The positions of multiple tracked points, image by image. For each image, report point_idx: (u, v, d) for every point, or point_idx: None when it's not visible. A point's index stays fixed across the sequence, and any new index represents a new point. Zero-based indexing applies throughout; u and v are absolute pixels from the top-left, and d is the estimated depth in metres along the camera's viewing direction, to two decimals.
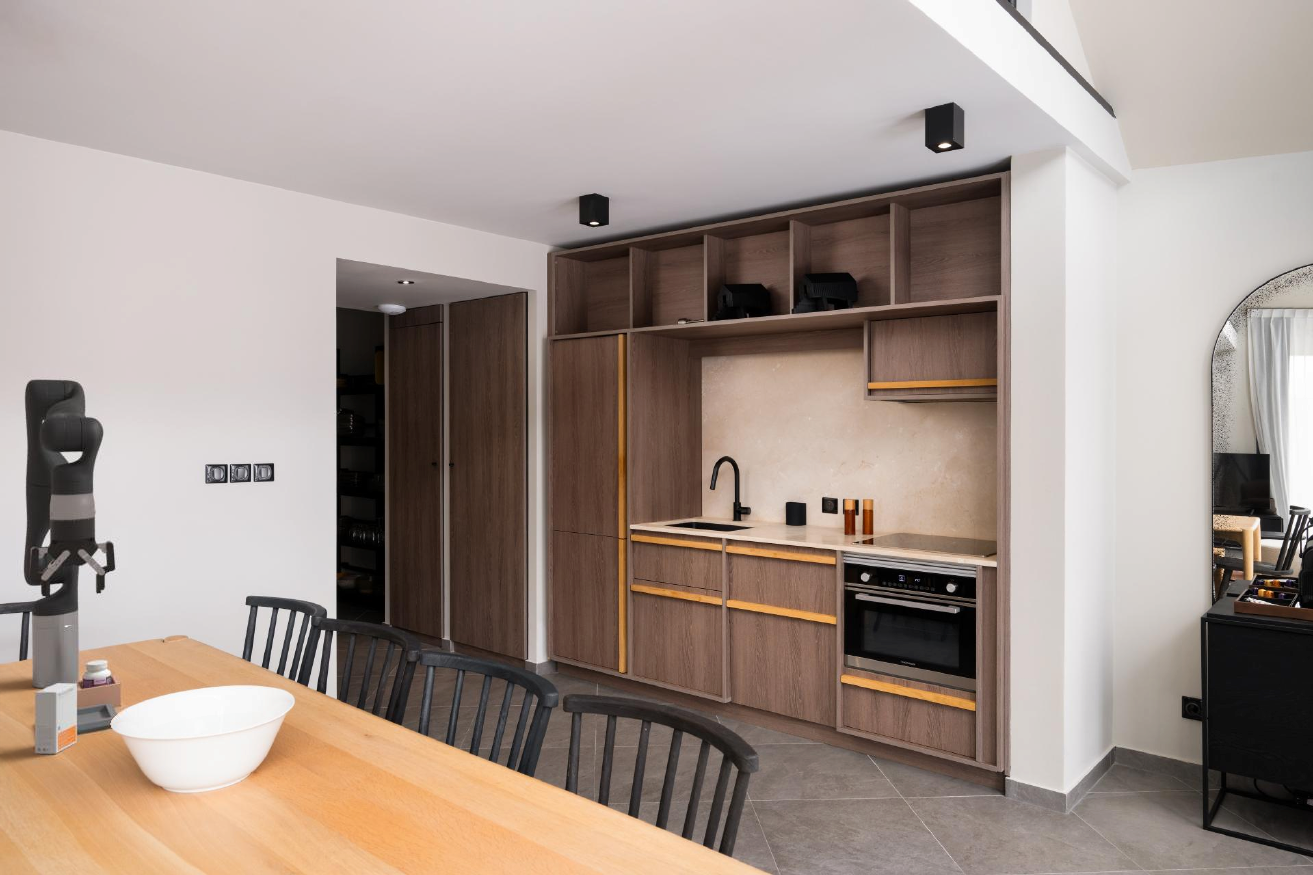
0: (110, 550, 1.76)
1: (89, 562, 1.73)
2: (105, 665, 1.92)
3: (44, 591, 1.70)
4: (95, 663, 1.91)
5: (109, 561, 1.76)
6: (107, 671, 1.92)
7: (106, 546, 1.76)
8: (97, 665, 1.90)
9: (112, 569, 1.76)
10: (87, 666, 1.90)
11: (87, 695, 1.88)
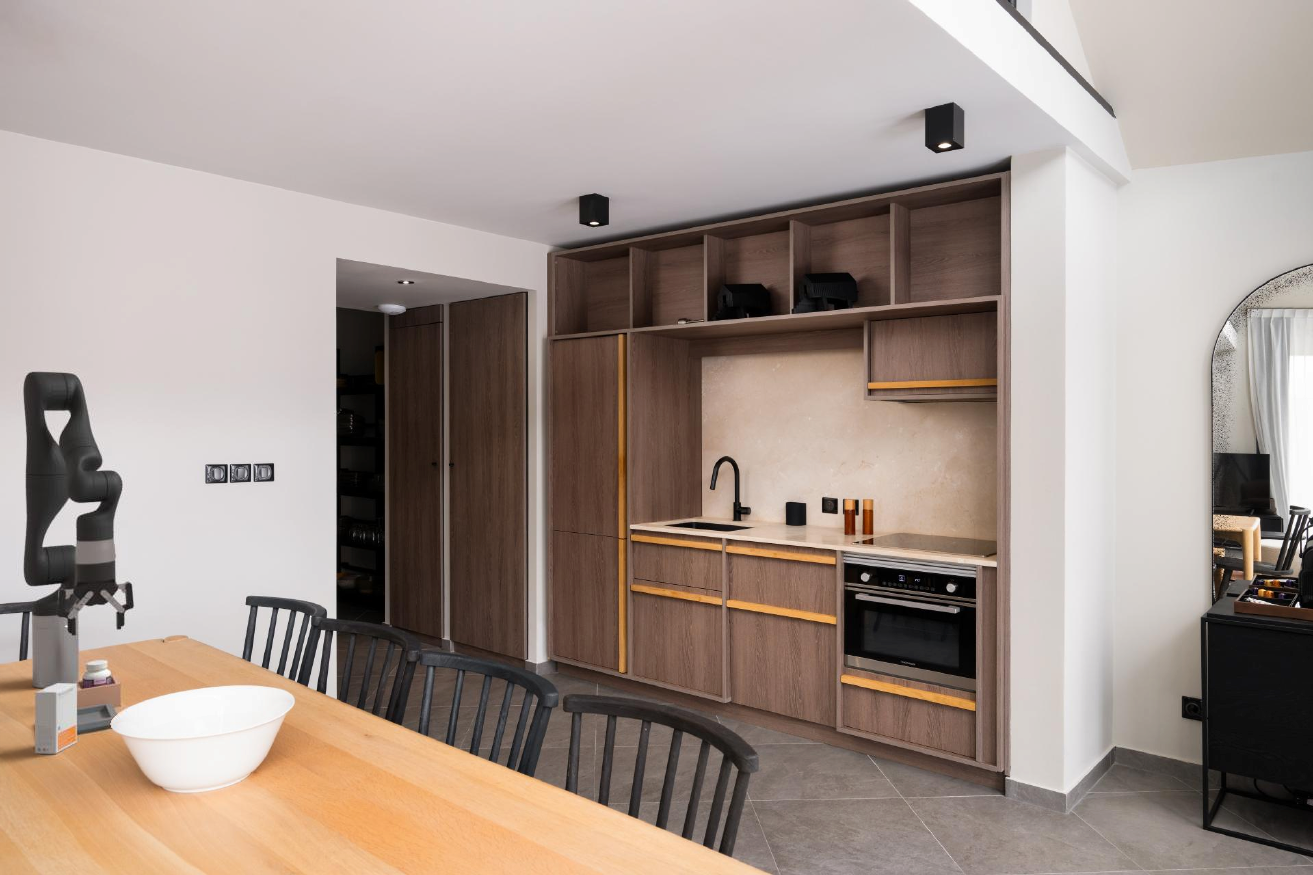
0: (129, 590, 1.95)
1: (110, 601, 1.92)
2: (105, 665, 1.92)
3: (70, 628, 1.88)
4: (95, 663, 1.91)
5: (128, 600, 1.95)
6: (107, 671, 1.92)
7: (125, 586, 1.94)
8: (97, 665, 1.90)
9: (131, 607, 1.95)
10: (87, 666, 1.90)
11: (87, 695, 1.88)
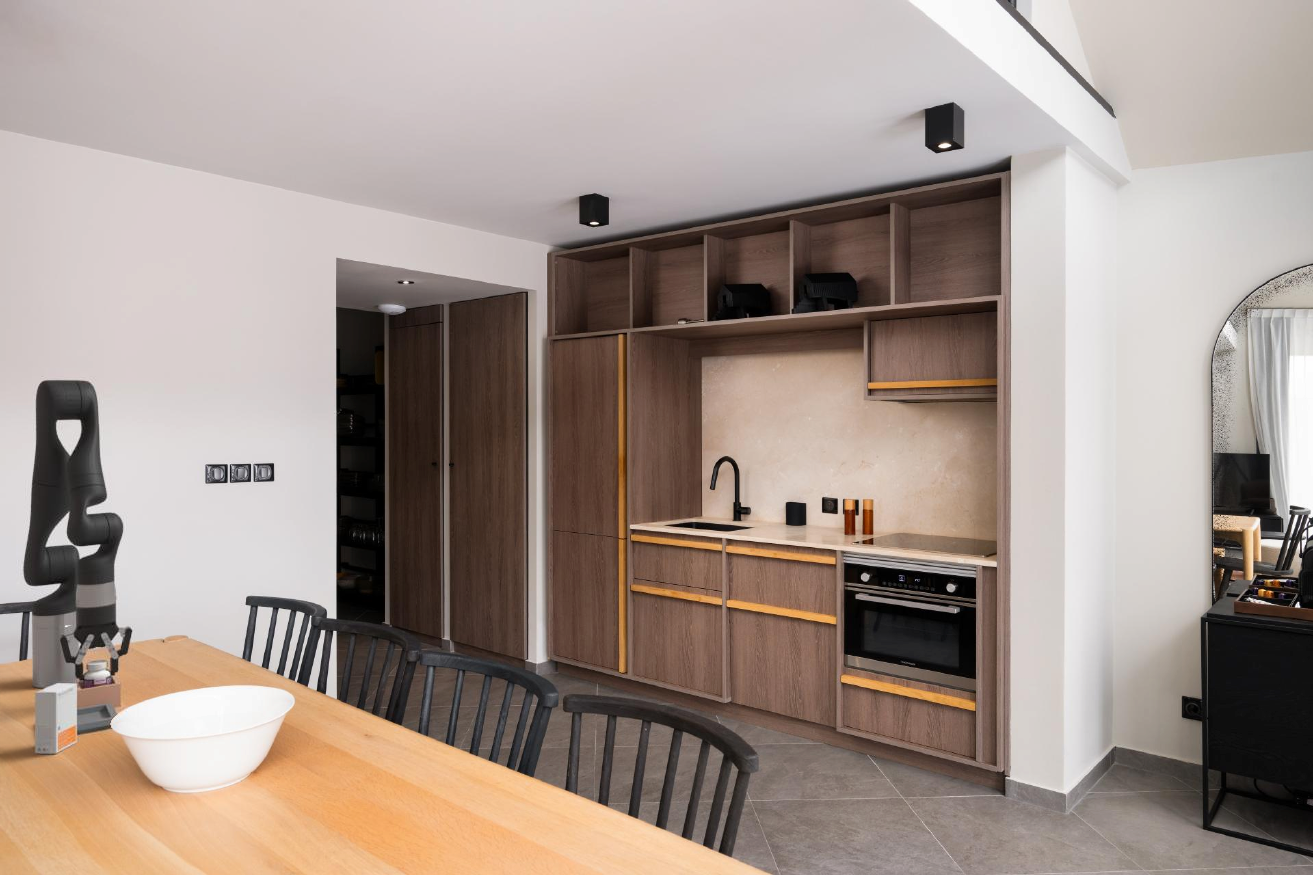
0: (128, 635, 1.95)
1: (108, 645, 1.92)
2: (105, 665, 1.92)
3: (78, 674, 1.89)
4: (95, 663, 1.91)
5: (124, 645, 1.94)
6: (107, 671, 1.92)
7: (125, 631, 1.95)
8: (97, 665, 1.91)
9: (125, 653, 1.94)
10: (87, 666, 1.90)
11: (87, 695, 1.88)
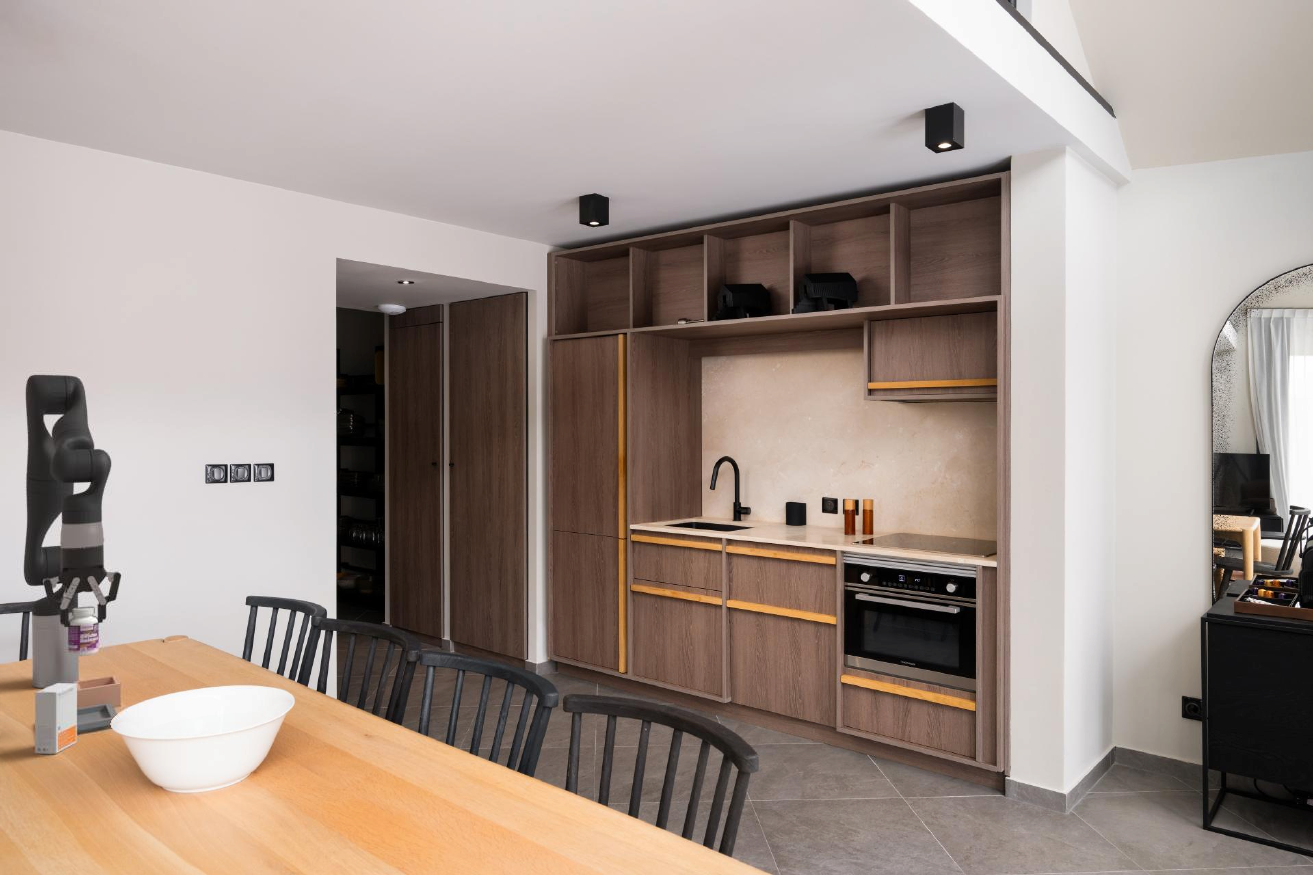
0: (116, 580, 1.83)
1: (95, 590, 1.80)
2: (92, 611, 1.80)
3: (63, 620, 1.77)
4: (82, 609, 1.79)
5: (112, 591, 1.82)
6: (94, 617, 1.81)
7: (114, 576, 1.83)
8: (84, 610, 1.79)
9: (113, 599, 1.82)
10: (73, 612, 1.78)
11: (87, 695, 1.88)
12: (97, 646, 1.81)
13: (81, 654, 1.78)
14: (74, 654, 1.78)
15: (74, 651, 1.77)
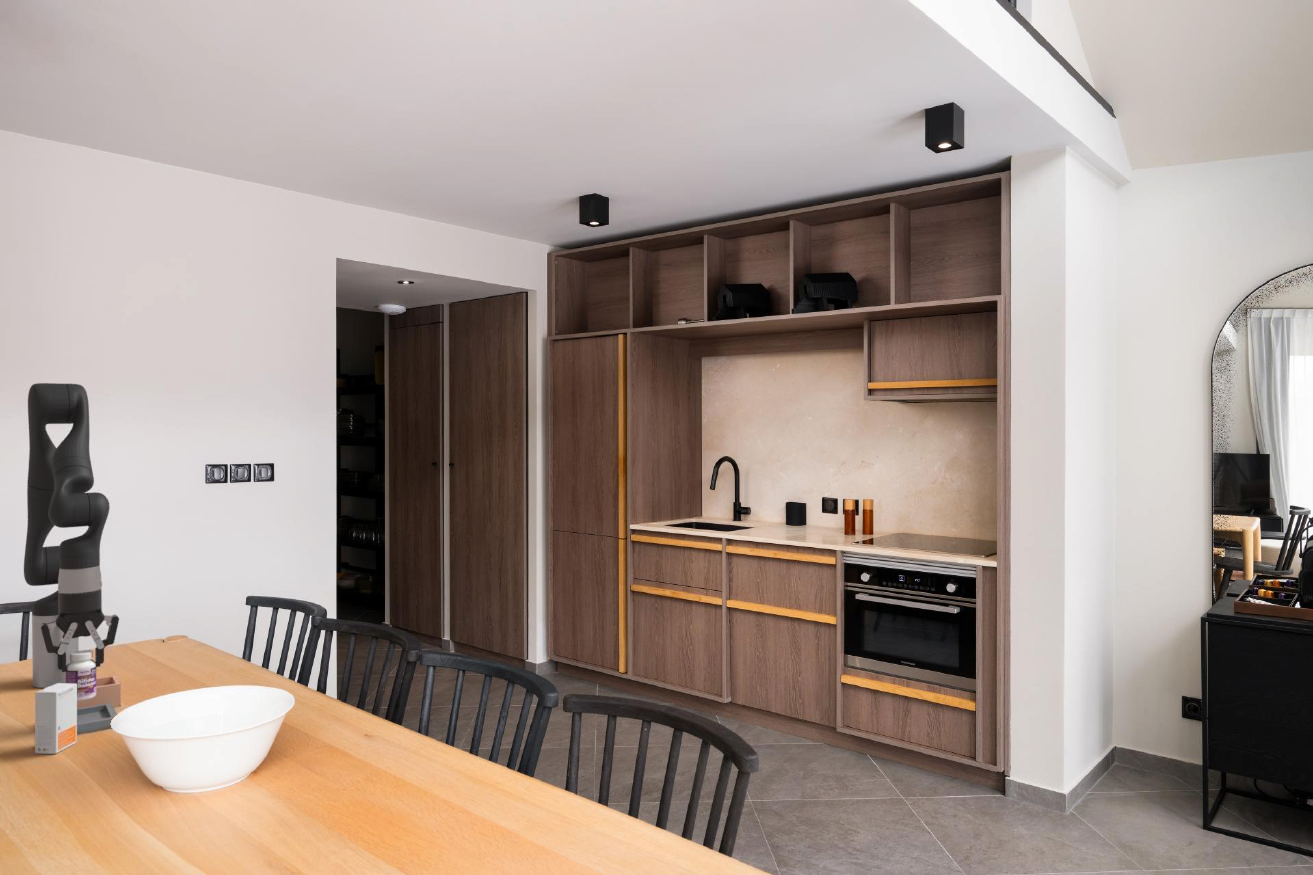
0: (114, 624, 1.82)
1: (92, 634, 1.79)
2: (90, 655, 1.79)
3: (60, 665, 1.77)
4: (79, 653, 1.78)
5: (110, 634, 1.81)
6: (92, 662, 1.80)
7: (112, 619, 1.82)
8: (81, 655, 1.78)
9: (111, 643, 1.82)
10: (70, 656, 1.78)
11: None
12: (95, 690, 1.80)
13: (78, 699, 1.77)
14: None
15: None
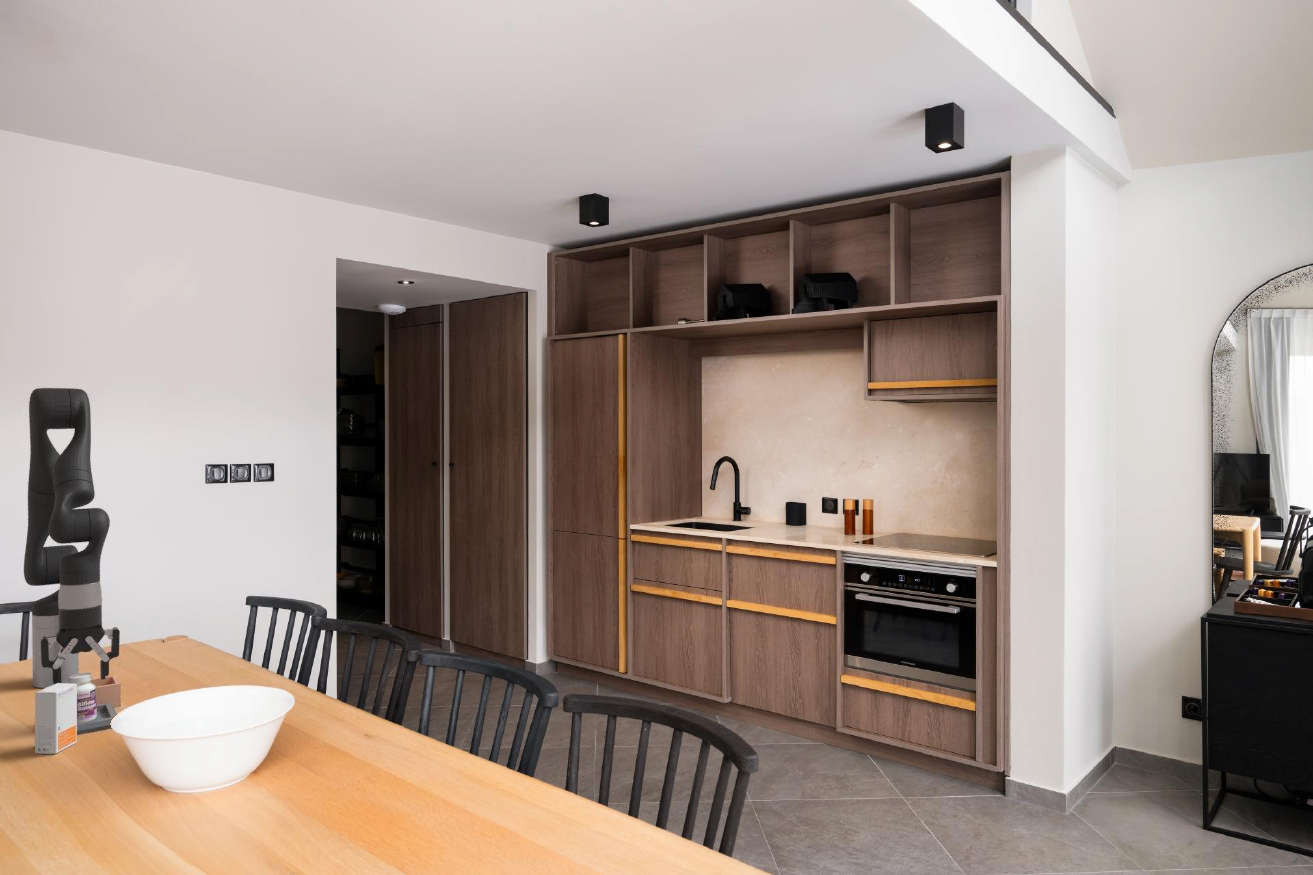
0: (116, 637, 1.82)
1: (95, 649, 1.79)
2: (89, 678, 1.79)
3: (55, 679, 1.76)
4: (78, 676, 1.78)
5: (114, 647, 1.82)
6: (91, 684, 1.80)
7: (112, 633, 1.82)
8: (80, 678, 1.78)
9: (116, 655, 1.82)
10: (69, 680, 1.78)
11: None
12: (95, 712, 1.80)
13: (79, 722, 1.77)
14: None
15: None
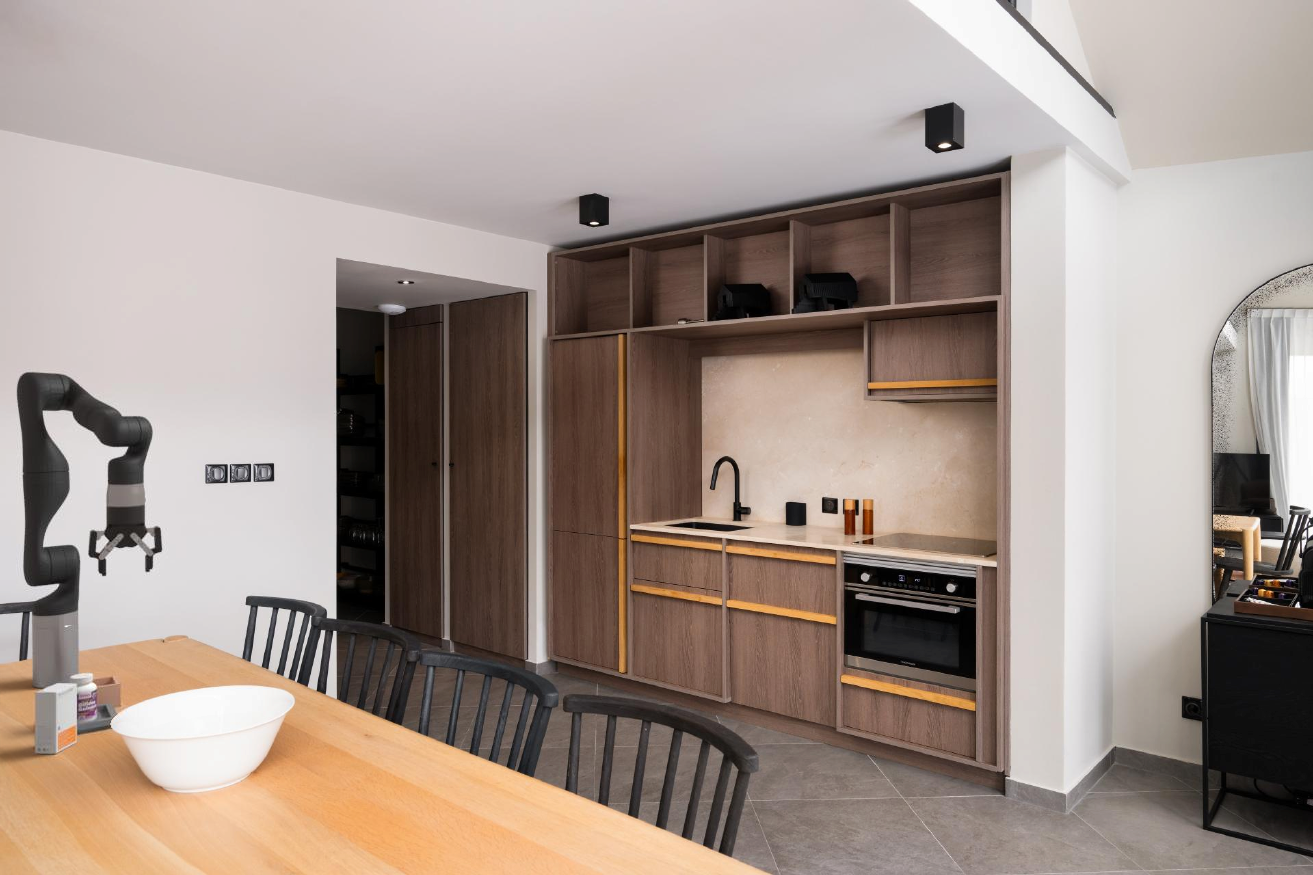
0: (158, 534, 1.99)
1: (140, 544, 1.96)
2: (90, 678, 1.79)
3: (101, 569, 1.93)
4: (80, 676, 1.79)
5: (157, 544, 1.99)
6: (93, 685, 1.80)
7: (154, 530, 1.99)
8: (82, 679, 1.78)
9: (159, 551, 1.99)
10: (71, 680, 1.78)
11: None
12: (95, 713, 1.80)
13: (79, 722, 1.77)
14: None
15: None
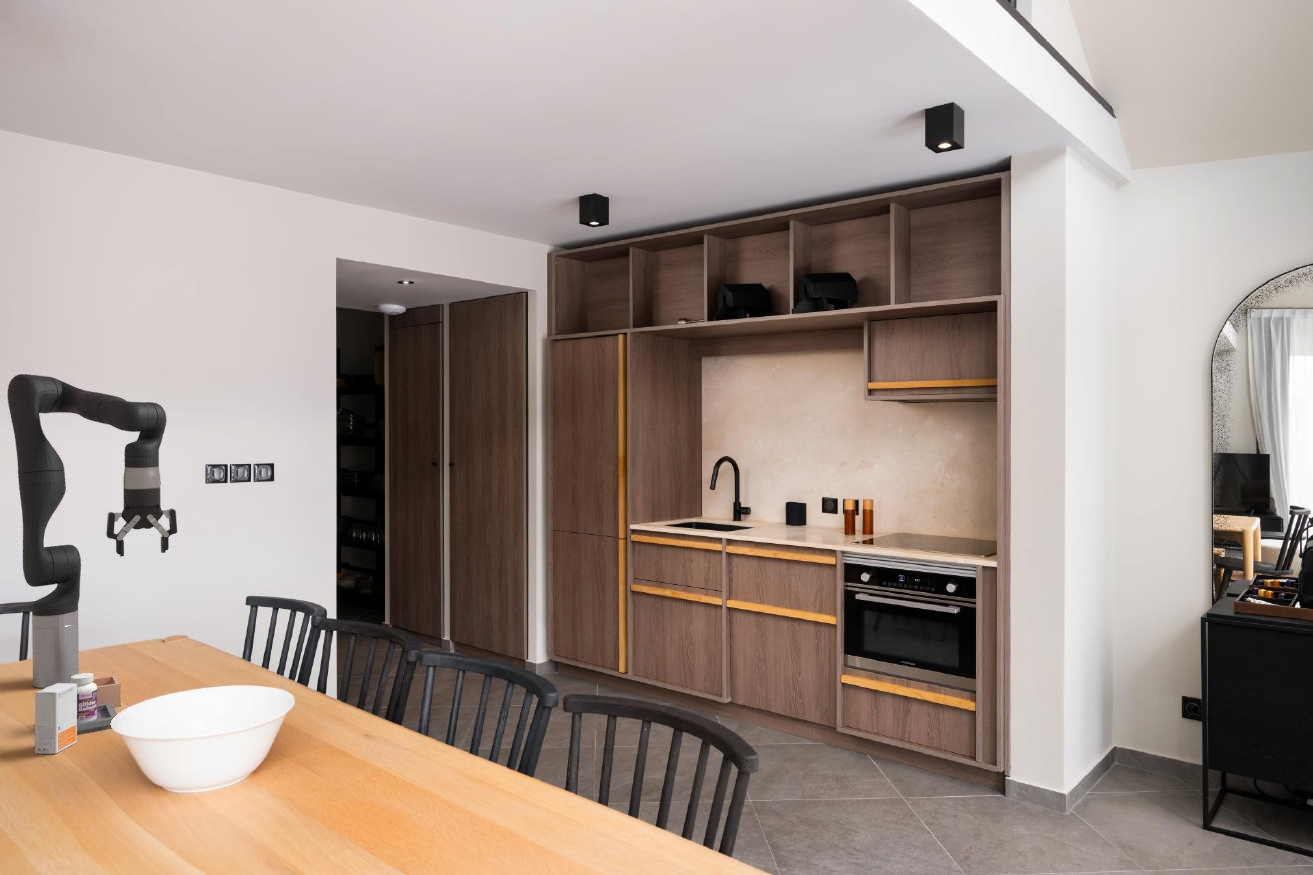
0: (173, 516, 2.06)
1: (156, 526, 2.03)
2: (91, 678, 1.79)
3: (119, 550, 2.00)
4: (80, 676, 1.79)
5: (172, 525, 2.06)
6: (93, 685, 1.80)
7: (169, 512, 2.06)
8: (82, 679, 1.78)
9: (174, 532, 2.06)
10: (71, 680, 1.78)
11: None
12: (95, 713, 1.80)
13: (79, 722, 1.77)
14: None
15: None
